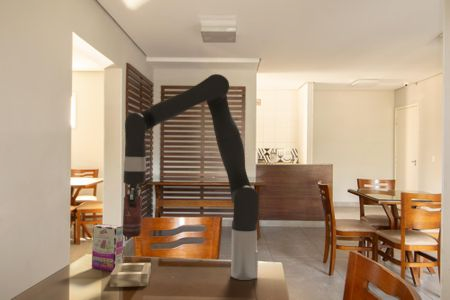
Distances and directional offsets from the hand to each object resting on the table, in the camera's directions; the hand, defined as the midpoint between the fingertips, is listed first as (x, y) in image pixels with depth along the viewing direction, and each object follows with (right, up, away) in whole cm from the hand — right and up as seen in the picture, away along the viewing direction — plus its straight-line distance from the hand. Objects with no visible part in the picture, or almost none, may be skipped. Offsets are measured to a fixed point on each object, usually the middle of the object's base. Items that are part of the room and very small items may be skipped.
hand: (133, 219), depth 119 cm
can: (0, -6, 0) cm, 6 cm away
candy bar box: (-13, -21, +11) cm, 27 cm away
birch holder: (0, -21, -1) cm, 21 cm away
